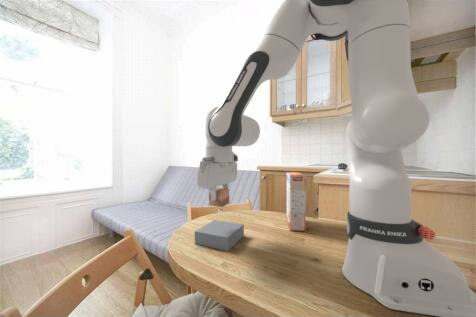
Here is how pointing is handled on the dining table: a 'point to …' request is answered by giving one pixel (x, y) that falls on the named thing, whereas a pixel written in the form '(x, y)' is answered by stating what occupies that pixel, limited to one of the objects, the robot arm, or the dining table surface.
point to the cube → (220, 197)
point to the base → (219, 234)
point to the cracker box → (296, 201)
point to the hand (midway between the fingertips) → (219, 198)
